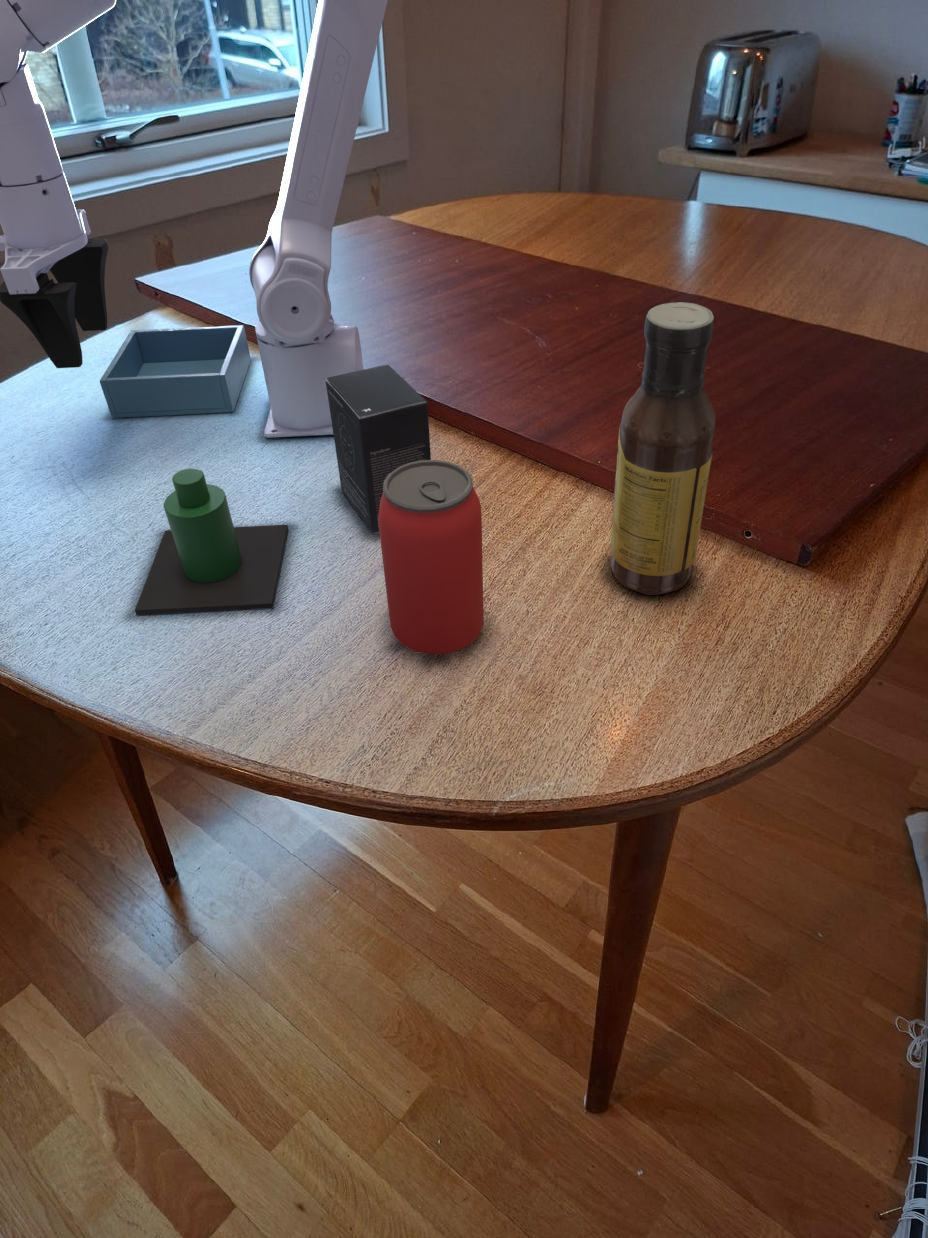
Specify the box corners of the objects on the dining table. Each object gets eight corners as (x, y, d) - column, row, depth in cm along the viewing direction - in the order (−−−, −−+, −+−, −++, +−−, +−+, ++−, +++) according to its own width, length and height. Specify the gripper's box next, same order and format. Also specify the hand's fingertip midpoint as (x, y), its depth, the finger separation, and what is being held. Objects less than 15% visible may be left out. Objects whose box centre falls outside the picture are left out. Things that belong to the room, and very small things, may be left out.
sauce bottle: (653, 538, 67) (690, 284, 54) (709, 579, 63) (763, 315, 50) (588, 565, 65) (610, 306, 51) (642, 610, 61) (680, 342, 47)
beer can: (415, 672, 57) (401, 524, 49) (376, 615, 61) (357, 472, 53) (501, 639, 59) (500, 493, 51) (457, 587, 63) (451, 444, 55)
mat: (288, 529, 69) (287, 524, 69) (273, 608, 62) (272, 603, 62) (166, 535, 69) (164, 530, 69) (136, 615, 62) (134, 610, 61)
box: (436, 517, 70) (428, 400, 63) (372, 537, 68) (357, 418, 61) (399, 473, 75) (389, 360, 68) (339, 490, 74) (322, 376, 67)
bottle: (246, 546, 67) (224, 458, 62) (237, 581, 64) (213, 491, 58) (190, 549, 67) (163, 461, 62) (178, 584, 64) (149, 494, 58)
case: (251, 359, 94) (243, 324, 91) (233, 412, 85) (224, 374, 82) (141, 365, 94) (130, 330, 91) (111, 418, 85) (99, 380, 82)
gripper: (6, 155, 70) (62, 316, 79) (-69, 206, 59) (6, 386, 68) (91, 151, 70) (138, 312, 79) (32, 202, 59) (94, 382, 68)
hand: (82, 346), depth 74 cm, fingers open, 7 cm apart
